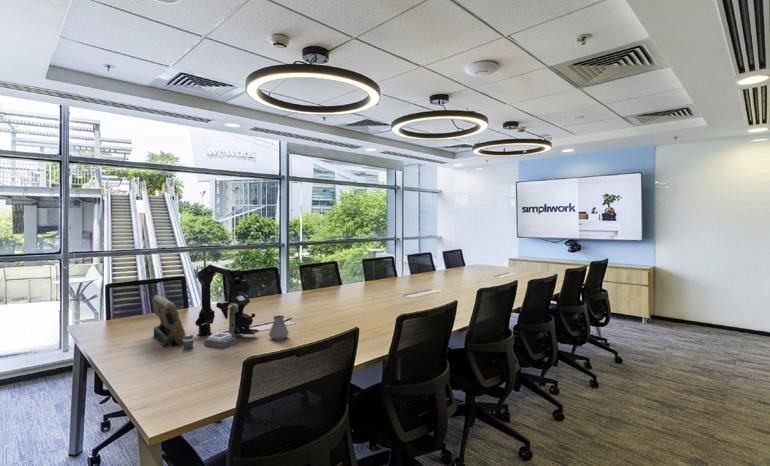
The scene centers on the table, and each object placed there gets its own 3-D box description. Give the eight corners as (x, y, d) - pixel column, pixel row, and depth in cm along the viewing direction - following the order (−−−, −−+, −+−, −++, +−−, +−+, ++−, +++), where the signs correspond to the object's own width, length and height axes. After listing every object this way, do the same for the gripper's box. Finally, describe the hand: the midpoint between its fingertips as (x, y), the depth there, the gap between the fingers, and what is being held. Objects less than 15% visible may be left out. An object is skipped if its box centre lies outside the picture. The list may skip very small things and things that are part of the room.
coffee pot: (265, 337, 237) (265, 312, 237) (283, 334, 245) (283, 310, 244) (282, 346, 221) (282, 319, 221) (300, 342, 229) (300, 316, 229)
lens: (180, 349, 215) (180, 336, 215) (188, 346, 220) (188, 333, 219) (187, 350, 213) (187, 337, 213) (195, 347, 218) (195, 334, 217)
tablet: (193, 343, 225) (192, 299, 225) (166, 349, 215) (166, 303, 214) (172, 332, 248) (171, 292, 247) (147, 336, 238) (146, 295, 237)
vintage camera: (251, 341, 231) (253, 307, 231) (227, 338, 234) (229, 305, 234) (260, 336, 241) (261, 304, 240) (237, 334, 244) (238, 302, 243)
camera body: (204, 345, 222) (204, 336, 222) (217, 340, 232) (217, 331, 231) (223, 348, 217) (223, 339, 217) (236, 343, 226) (236, 334, 226)
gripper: (228, 294, 216) (228, 323, 217) (256, 289, 232) (255, 316, 233) (215, 292, 222) (215, 320, 223) (243, 287, 238) (243, 313, 239)
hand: (233, 317), depth 229 cm, fingers open, 9 cm apart
